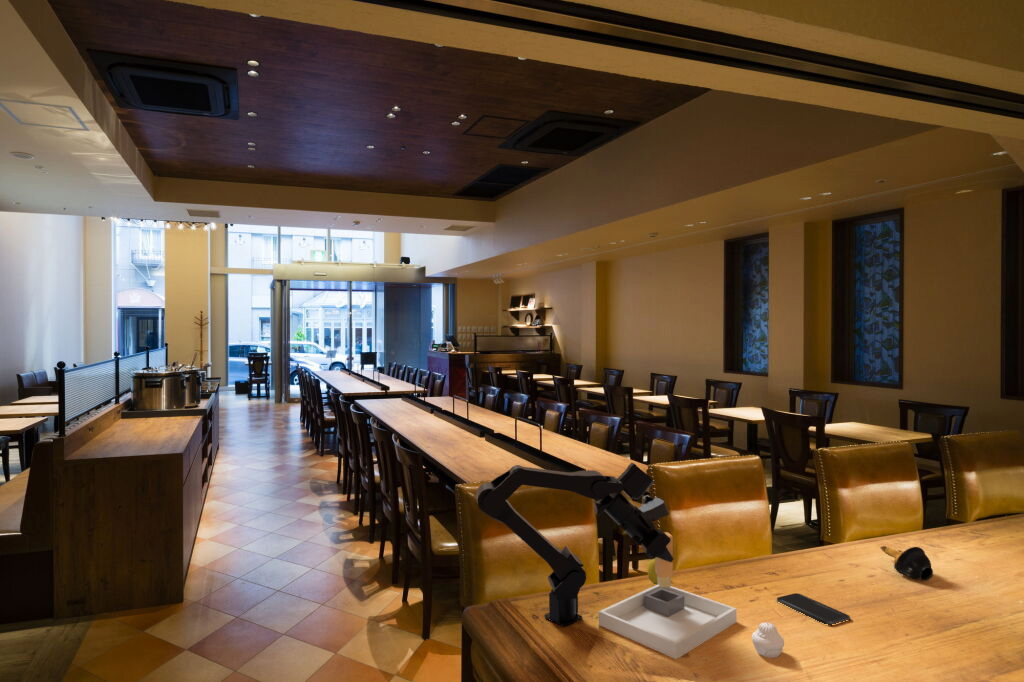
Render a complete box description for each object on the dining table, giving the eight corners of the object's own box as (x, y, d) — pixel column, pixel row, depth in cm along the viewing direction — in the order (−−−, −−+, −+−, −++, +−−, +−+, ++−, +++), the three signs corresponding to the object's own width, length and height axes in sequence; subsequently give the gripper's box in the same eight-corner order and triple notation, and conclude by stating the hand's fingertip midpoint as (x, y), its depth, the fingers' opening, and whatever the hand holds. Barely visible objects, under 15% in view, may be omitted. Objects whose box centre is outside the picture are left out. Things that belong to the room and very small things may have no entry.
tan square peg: (659, 588, 141) (659, 536, 141) (655, 582, 144) (654, 532, 145) (673, 587, 142) (672, 536, 142) (668, 582, 145) (667, 532, 145)
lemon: (670, 591, 155) (669, 560, 155) (648, 589, 156) (647, 559, 156) (668, 583, 161) (668, 553, 161) (647, 581, 162) (647, 551, 162)
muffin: (775, 649, 125) (775, 615, 125) (790, 665, 119) (790, 629, 119) (746, 650, 125) (746, 616, 125) (759, 665, 119) (759, 630, 119)
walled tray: (676, 664, 120) (675, 644, 120) (598, 629, 135) (598, 611, 135) (736, 626, 136) (736, 608, 136) (661, 598, 151) (661, 582, 151)
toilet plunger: (911, 569, 157) (860, 527, 173) (915, 599, 161) (865, 556, 178) (942, 554, 157) (888, 515, 174) (945, 585, 161) (892, 543, 178)
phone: (828, 623, 135) (774, 597, 149) (829, 628, 135) (774, 602, 149) (852, 616, 138) (797, 592, 152) (852, 621, 138) (797, 596, 152)
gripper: (661, 498, 133) (709, 545, 135) (635, 479, 152) (677, 521, 153) (627, 535, 133) (675, 582, 134) (604, 511, 151) (647, 554, 152)
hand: (669, 558), depth 143 cm, fingers closed on tan square peg, 3 cm apart
